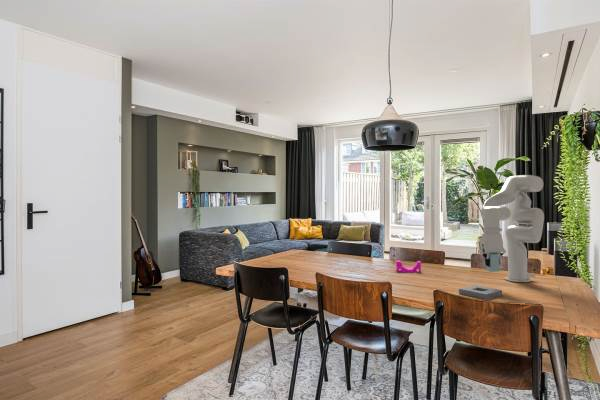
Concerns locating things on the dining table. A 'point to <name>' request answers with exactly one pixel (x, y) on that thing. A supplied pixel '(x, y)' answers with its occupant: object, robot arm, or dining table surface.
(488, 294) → the socket
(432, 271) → the dining table surface
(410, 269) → the toy block
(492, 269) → the peg
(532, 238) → the robot arm
